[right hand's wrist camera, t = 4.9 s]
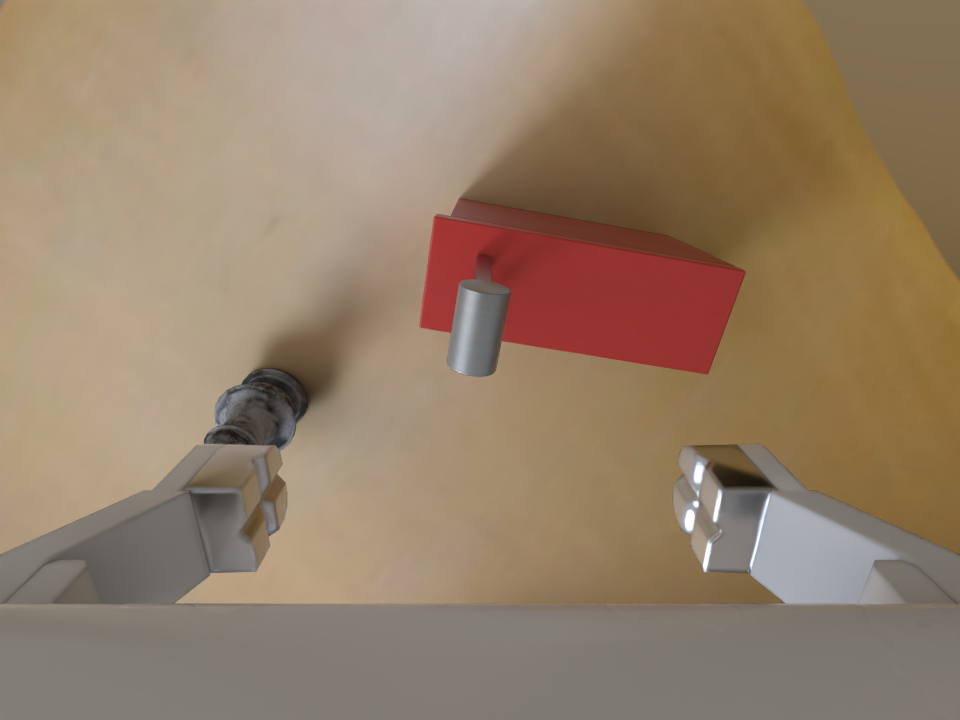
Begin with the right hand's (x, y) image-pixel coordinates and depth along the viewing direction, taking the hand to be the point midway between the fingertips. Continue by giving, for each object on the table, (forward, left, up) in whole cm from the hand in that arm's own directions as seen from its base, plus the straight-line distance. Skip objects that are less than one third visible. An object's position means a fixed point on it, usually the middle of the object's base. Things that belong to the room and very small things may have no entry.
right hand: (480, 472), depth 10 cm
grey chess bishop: (-18, -9, -28) cm, 35 cm away
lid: (+5, -2, -18) cm, 18 cm away
